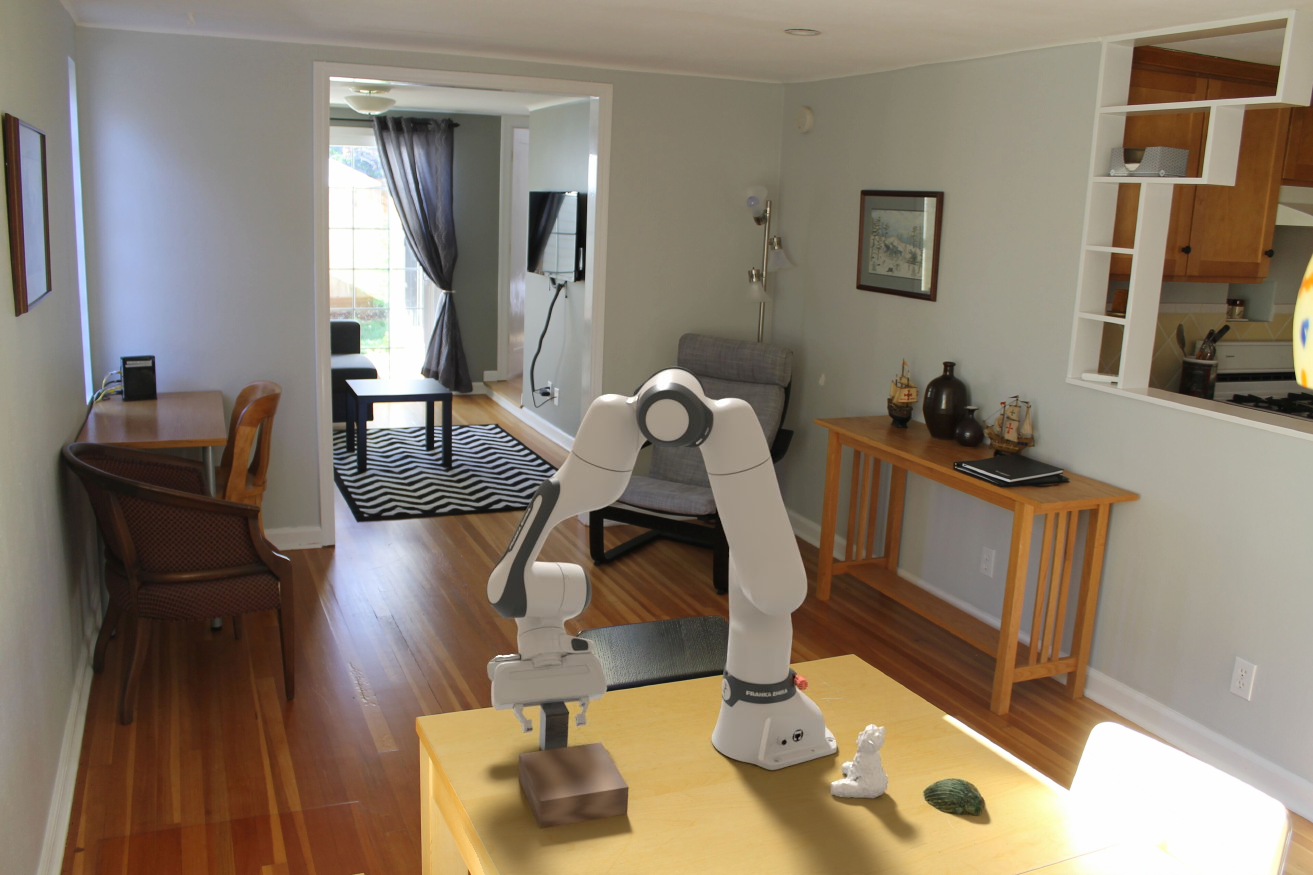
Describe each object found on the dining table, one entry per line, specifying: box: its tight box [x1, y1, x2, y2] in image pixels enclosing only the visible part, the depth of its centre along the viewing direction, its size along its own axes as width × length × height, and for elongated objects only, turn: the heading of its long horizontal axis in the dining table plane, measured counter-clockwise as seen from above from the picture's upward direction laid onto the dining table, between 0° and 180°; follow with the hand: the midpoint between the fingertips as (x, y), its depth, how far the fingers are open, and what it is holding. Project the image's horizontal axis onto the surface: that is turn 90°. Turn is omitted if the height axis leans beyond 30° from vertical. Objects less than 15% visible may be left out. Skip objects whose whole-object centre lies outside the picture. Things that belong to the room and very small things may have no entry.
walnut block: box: [518, 742, 630, 829], centre depth 161 cm, size 14×14×5 cm
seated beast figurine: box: [830, 723, 889, 799], centre depth 167 cm, size 10×9×12 cm
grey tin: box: [538, 701, 570, 751], centre depth 174 cm, size 4×4×8 cm
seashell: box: [922, 777, 985, 817], centre depth 167 cm, size 10×4×10 cm
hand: (554, 728), depth 173 cm, fingers open, 8 cm apart
